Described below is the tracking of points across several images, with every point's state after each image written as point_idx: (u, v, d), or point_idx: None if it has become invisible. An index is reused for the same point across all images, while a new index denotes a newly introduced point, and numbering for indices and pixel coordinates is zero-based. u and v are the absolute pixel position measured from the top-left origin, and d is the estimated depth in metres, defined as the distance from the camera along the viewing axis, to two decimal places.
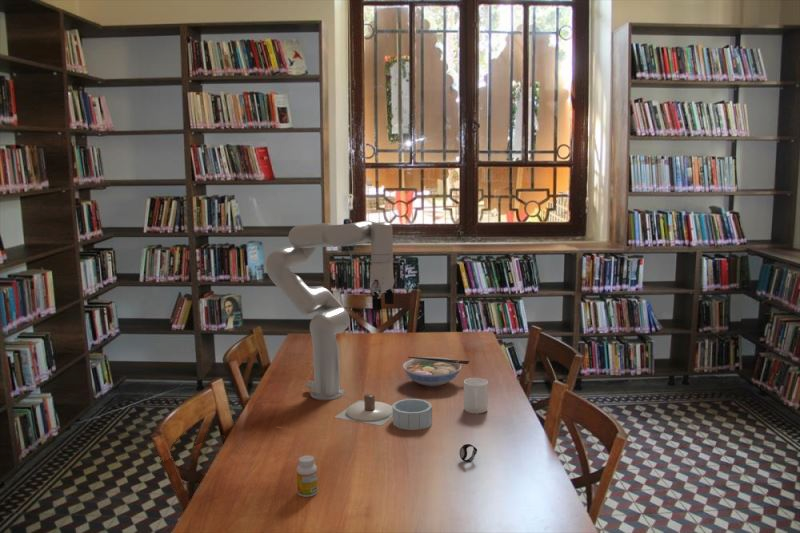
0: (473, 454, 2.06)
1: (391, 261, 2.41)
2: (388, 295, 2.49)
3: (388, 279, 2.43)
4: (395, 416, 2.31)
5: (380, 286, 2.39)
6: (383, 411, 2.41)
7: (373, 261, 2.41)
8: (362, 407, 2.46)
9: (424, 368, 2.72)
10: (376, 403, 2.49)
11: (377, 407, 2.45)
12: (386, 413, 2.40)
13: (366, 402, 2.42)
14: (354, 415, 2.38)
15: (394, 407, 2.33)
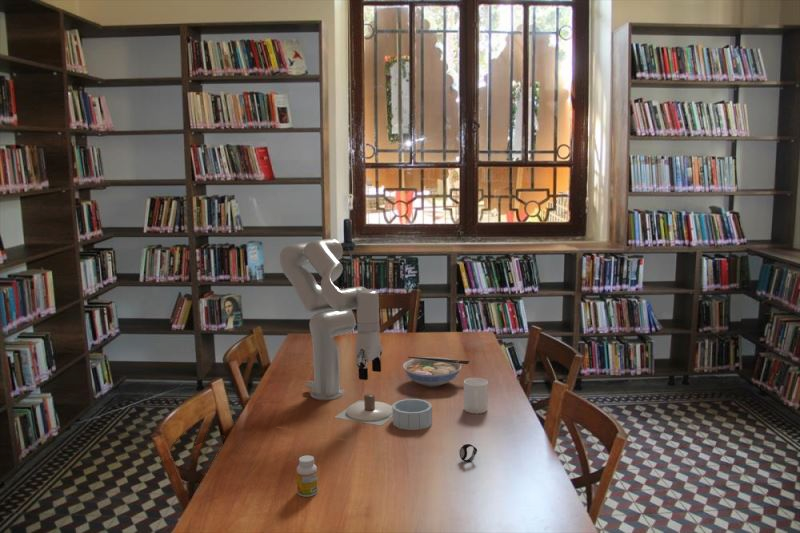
0: (473, 454, 2.06)
1: (377, 330, 2.37)
2: (376, 363, 2.45)
3: (375, 348, 2.38)
4: (395, 416, 2.31)
5: (366, 356, 2.35)
6: (383, 411, 2.41)
7: (359, 330, 2.36)
8: (362, 407, 2.46)
9: (424, 368, 2.72)
10: (376, 403, 2.49)
11: (377, 407, 2.45)
12: (386, 413, 2.40)
13: (366, 402, 2.42)
14: (354, 415, 2.38)
15: (394, 407, 2.33)
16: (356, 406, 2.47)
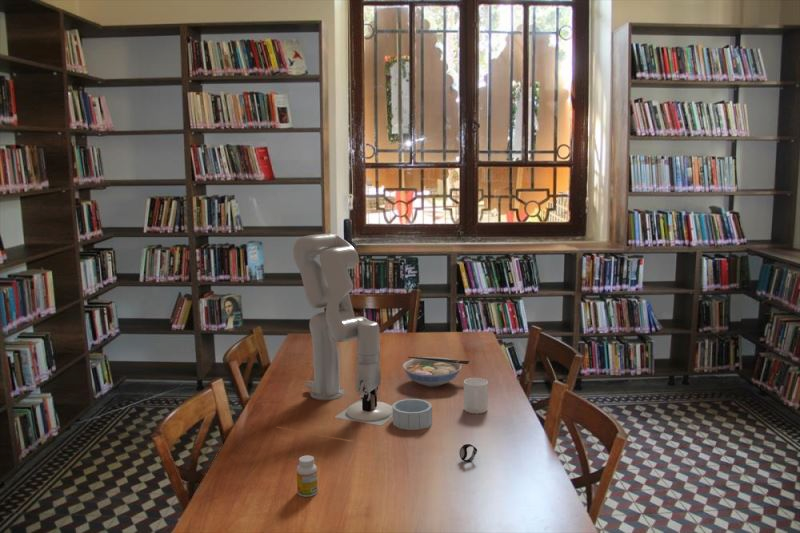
0: (473, 454, 2.06)
1: (378, 361, 2.39)
2: None
3: (374, 379, 2.40)
4: (395, 416, 2.31)
5: (366, 387, 2.37)
6: (383, 411, 2.41)
7: (359, 361, 2.38)
8: None
9: (424, 368, 2.72)
10: None
11: (377, 407, 2.45)
12: (386, 413, 2.40)
13: None
14: (354, 415, 2.38)
15: (394, 407, 2.33)
16: (356, 406, 2.46)
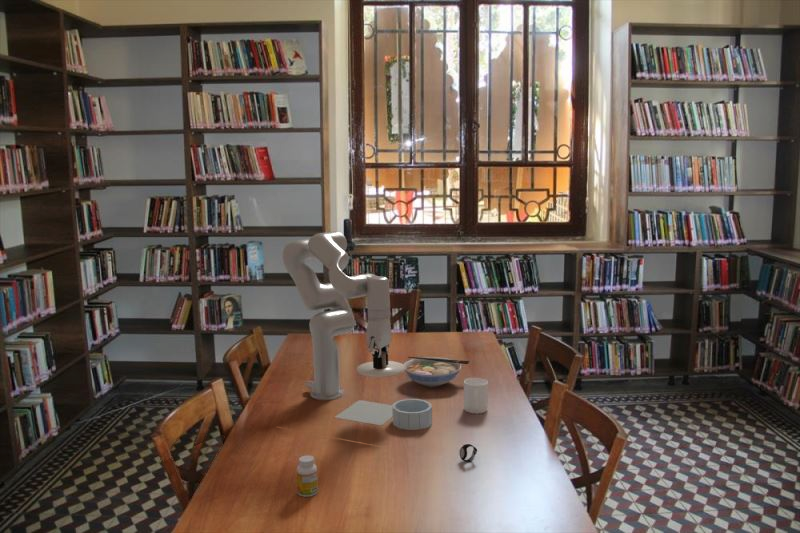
0: (473, 454, 2.06)
1: (388, 317, 2.34)
2: None
3: (385, 335, 2.35)
4: (395, 416, 2.31)
5: (377, 343, 2.32)
6: (395, 368, 2.36)
7: (369, 317, 2.33)
8: None
9: (424, 368, 2.72)
10: None
11: (388, 365, 2.40)
12: (398, 370, 2.34)
13: None
14: (365, 372, 2.33)
15: (394, 407, 2.33)
16: (367, 365, 2.41)
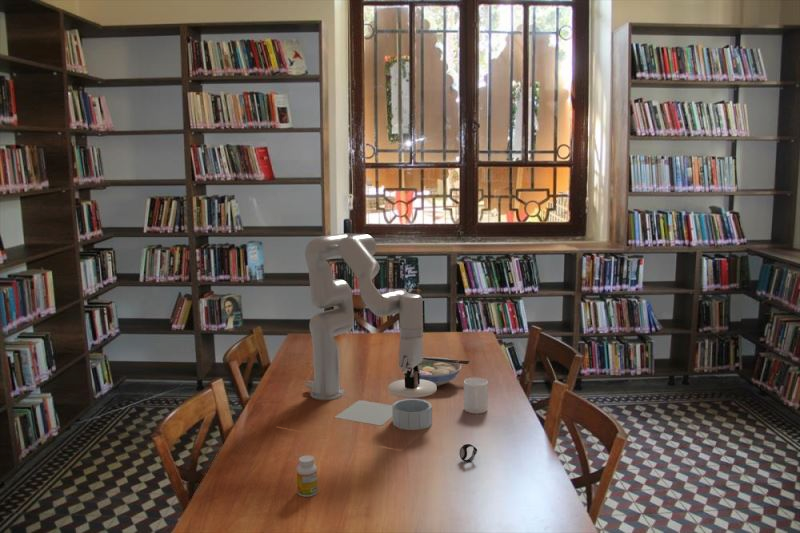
0: (473, 454, 2.06)
1: (421, 335, 2.28)
2: None
3: (418, 354, 2.30)
4: (395, 416, 2.31)
5: (410, 362, 2.26)
6: (427, 388, 2.30)
7: (402, 336, 2.28)
8: (404, 384, 2.35)
9: (424, 368, 2.72)
10: None
11: (420, 384, 2.35)
12: (430, 390, 2.29)
13: None
14: (397, 392, 2.27)
15: (394, 407, 2.33)
16: (397, 383, 2.36)
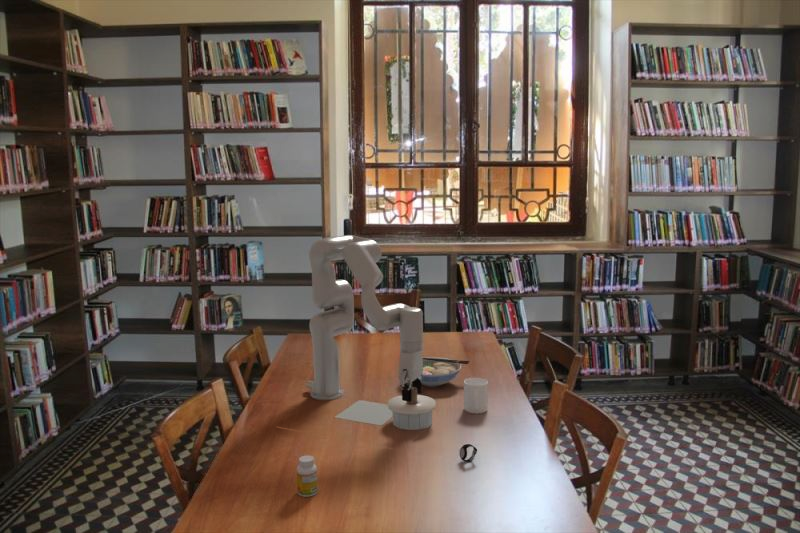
0: (473, 454, 2.06)
1: (421, 349, 2.29)
2: (416, 384, 2.36)
3: (417, 367, 2.30)
4: (395, 416, 2.31)
5: (409, 376, 2.27)
6: (426, 405, 2.32)
7: (402, 349, 2.28)
8: None
9: (424, 368, 2.72)
10: (417, 396, 2.39)
11: (419, 400, 2.36)
12: (430, 407, 2.30)
13: None
14: (397, 409, 2.29)
15: None
16: (397, 399, 2.37)
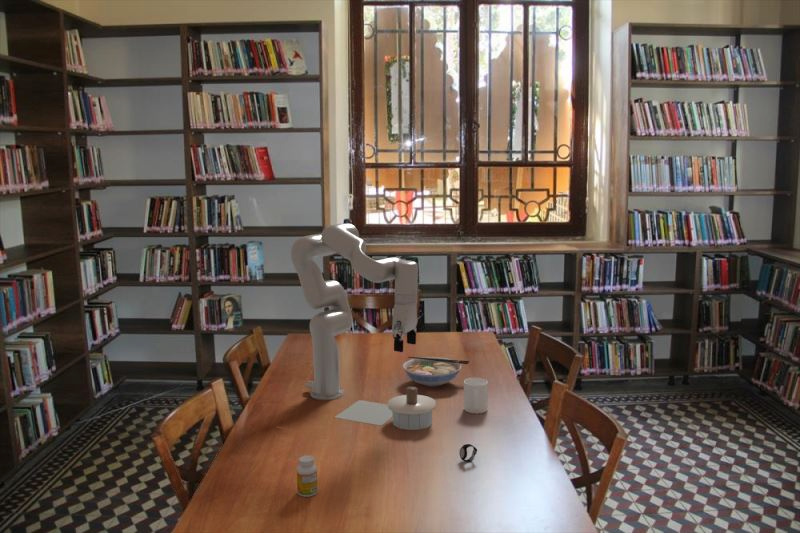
0: (473, 454, 2.06)
1: (415, 302, 2.32)
2: (411, 335, 2.40)
3: (411, 320, 2.34)
4: (395, 416, 2.31)
5: (403, 328, 2.30)
6: (426, 405, 2.32)
7: (396, 301, 2.32)
8: (403, 400, 2.36)
9: (424, 368, 2.72)
10: (417, 396, 2.39)
11: (419, 400, 2.36)
12: (430, 407, 2.30)
13: (408, 395, 2.32)
14: (397, 409, 2.29)
15: None
16: (397, 399, 2.37)
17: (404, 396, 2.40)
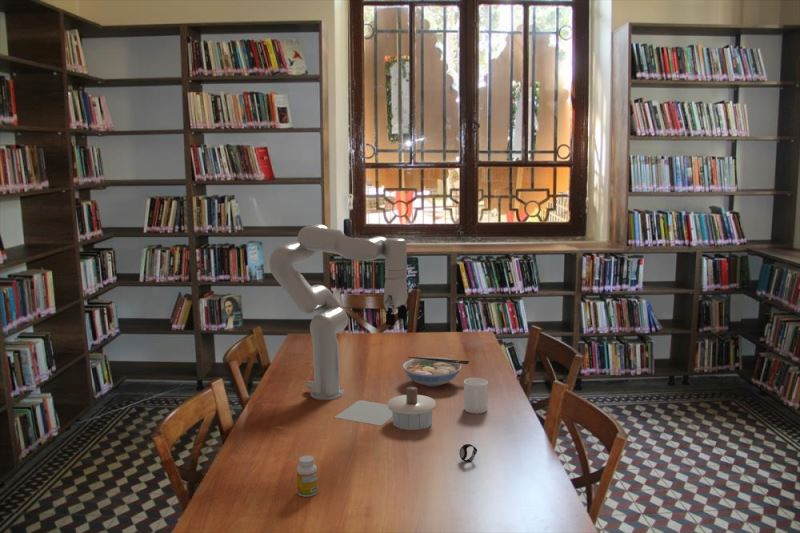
0: (473, 454, 2.06)
1: (405, 277, 2.43)
2: (402, 310, 2.51)
3: (402, 294, 2.44)
4: (395, 416, 2.31)
5: (394, 302, 2.41)
6: (426, 405, 2.32)
7: (387, 277, 2.42)
8: (403, 400, 2.36)
9: (424, 368, 2.72)
10: (417, 396, 2.39)
11: (419, 400, 2.36)
12: (430, 407, 2.30)
13: (408, 395, 2.32)
14: (397, 409, 2.29)
15: None
16: (397, 399, 2.37)
17: (404, 396, 2.40)
